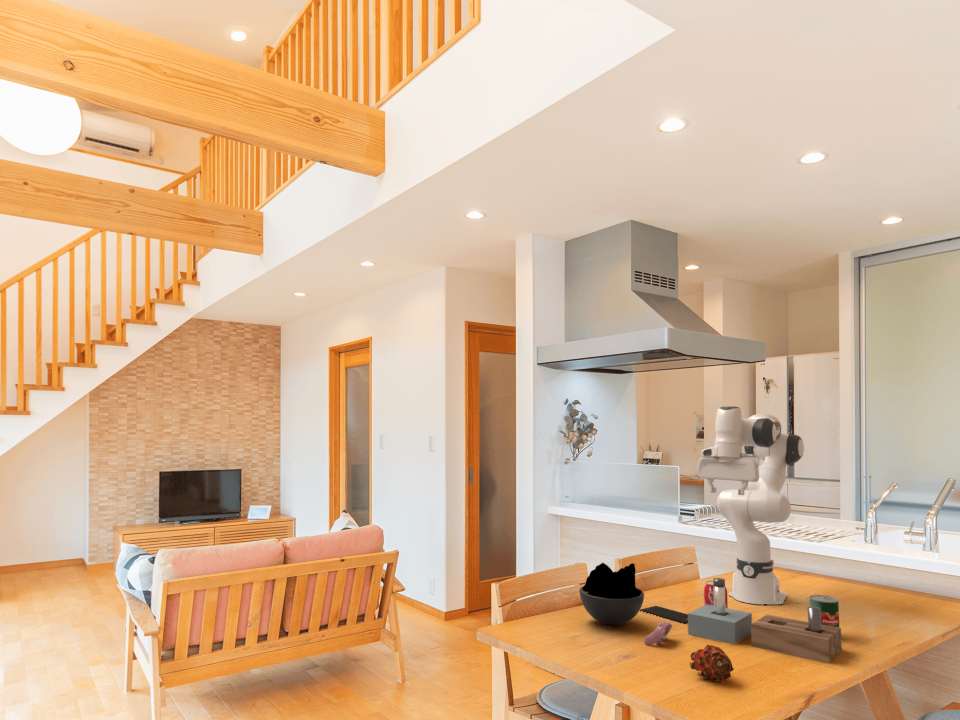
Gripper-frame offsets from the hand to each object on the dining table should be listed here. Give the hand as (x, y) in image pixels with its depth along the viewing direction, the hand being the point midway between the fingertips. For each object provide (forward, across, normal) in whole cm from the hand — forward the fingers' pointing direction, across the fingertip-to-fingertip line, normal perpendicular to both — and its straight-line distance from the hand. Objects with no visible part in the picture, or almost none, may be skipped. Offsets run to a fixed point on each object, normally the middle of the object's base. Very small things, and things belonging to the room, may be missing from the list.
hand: (727, 493), depth 226 cm
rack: (+42, -27, +16) cm, 52 cm away
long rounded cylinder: (+42, -6, +18) cm, 46 cm away
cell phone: (+42, +14, +10) cm, 45 cm away
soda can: (+41, 0, +7) cm, 41 cm away
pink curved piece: (+44, +4, +38) cm, 59 cm away
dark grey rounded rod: (+42, -32, +16) cm, 55 cm away
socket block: (+42, -6, +18) cm, 46 cm away
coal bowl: (+44, +23, +32) cm, 59 cm away
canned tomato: (+40, -30, -2) cm, 50 cm away
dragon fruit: (+46, -18, +55) cm, 74 cm away
